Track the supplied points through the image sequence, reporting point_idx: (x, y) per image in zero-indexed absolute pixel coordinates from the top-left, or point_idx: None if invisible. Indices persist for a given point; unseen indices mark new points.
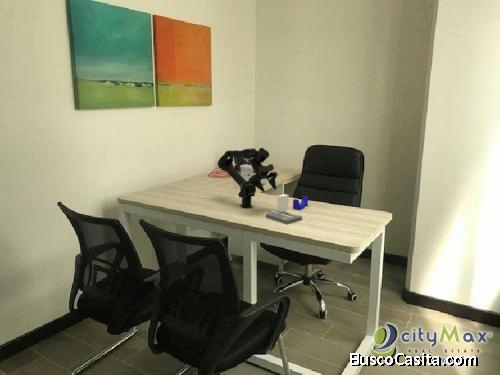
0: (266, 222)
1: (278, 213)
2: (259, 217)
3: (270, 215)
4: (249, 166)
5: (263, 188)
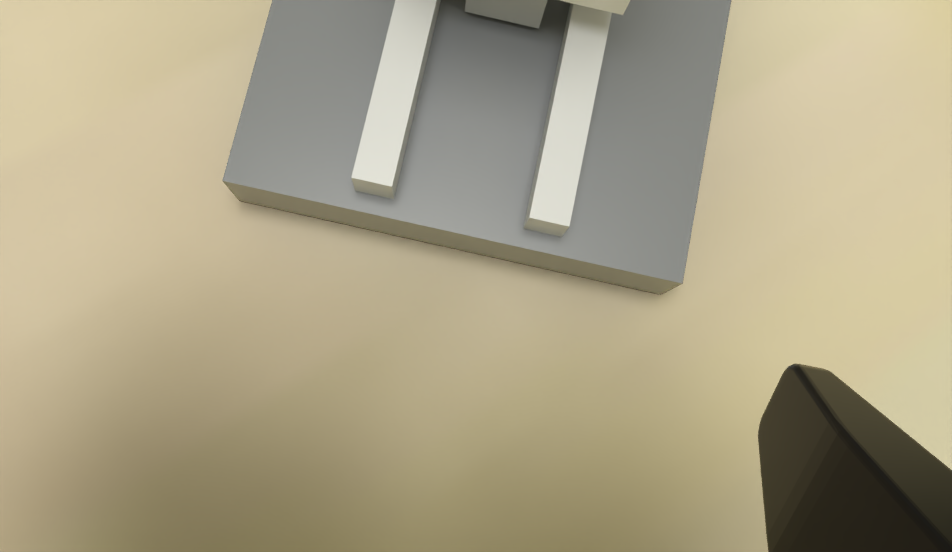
0: (899, 110)
1: None
2: (750, 381)
3: (705, 146)
4: None
5: (879, 441)
